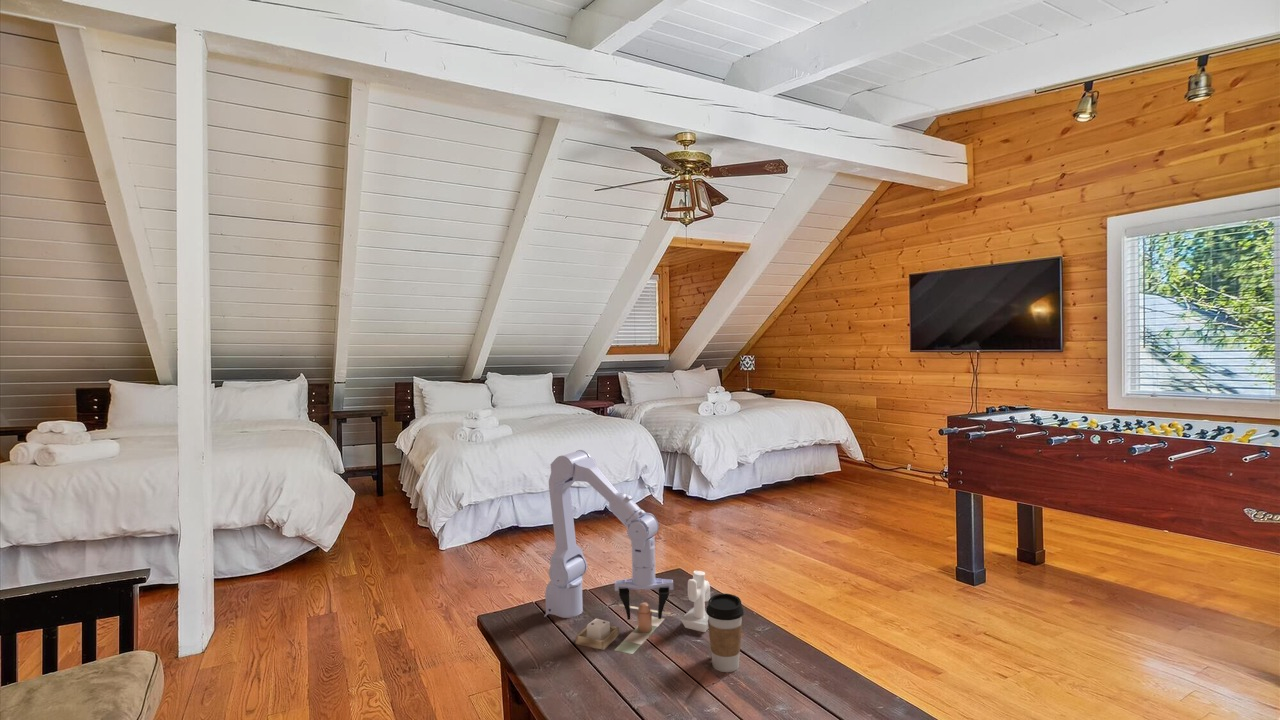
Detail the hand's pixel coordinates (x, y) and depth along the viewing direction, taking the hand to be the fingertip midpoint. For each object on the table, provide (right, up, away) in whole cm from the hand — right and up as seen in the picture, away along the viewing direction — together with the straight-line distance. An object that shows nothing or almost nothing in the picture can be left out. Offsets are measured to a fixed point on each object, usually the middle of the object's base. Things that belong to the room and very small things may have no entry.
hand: (644, 617), depth 164 cm
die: (-11, -4, -4) cm, 12 cm away
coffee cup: (+18, -5, -16) cm, 25 cm away
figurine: (+14, -4, +2) cm, 15 cm away
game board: (-5, -4, +1) cm, 7 cm away
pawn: (0, -3, 0) cm, 3 cm away
